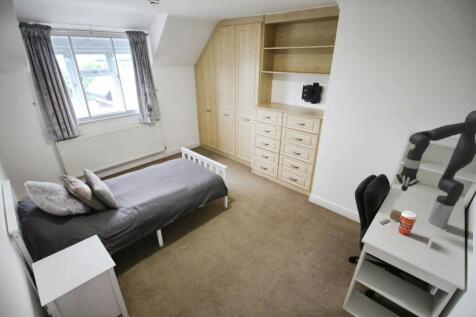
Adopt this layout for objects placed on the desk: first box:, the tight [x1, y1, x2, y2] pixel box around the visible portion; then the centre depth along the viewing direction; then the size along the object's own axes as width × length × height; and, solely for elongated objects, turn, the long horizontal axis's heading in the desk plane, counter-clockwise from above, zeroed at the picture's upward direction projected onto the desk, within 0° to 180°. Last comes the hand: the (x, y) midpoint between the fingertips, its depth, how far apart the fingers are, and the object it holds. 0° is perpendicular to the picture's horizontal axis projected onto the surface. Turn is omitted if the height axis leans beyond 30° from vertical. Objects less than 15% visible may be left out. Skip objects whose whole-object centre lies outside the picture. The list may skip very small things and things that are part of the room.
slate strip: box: [379, 218, 391, 225], centre depth 149 cm, size 8×2×1 cm, turn 118°
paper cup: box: [398, 210, 419, 237], centre depth 137 cm, size 8×8×14 cm
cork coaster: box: [387, 214, 401, 223], centre depth 152 cm, size 8×8×1 cm
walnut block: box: [389, 208, 403, 221], centre depth 151 cm, size 5×5×5 cm
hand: (403, 190), depth 142 cm, fingers closed
